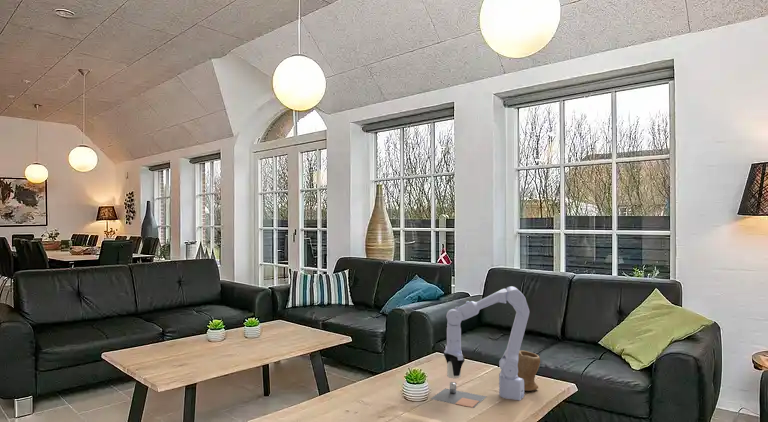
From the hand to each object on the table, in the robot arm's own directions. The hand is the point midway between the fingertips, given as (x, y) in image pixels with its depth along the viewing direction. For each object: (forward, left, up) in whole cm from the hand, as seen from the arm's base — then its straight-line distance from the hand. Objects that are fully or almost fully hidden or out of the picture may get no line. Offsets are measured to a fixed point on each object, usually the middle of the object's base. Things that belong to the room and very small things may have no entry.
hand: (454, 373), depth 205 cm
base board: (-3, +3, -9) cm, 10 cm away
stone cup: (-20, -26, -10) cm, 35 cm away
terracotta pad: (-8, +7, -8) cm, 13 cm away
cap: (0, 0, -1) cm, 1 cm away
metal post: (+1, 0, -8) cm, 8 cm away
